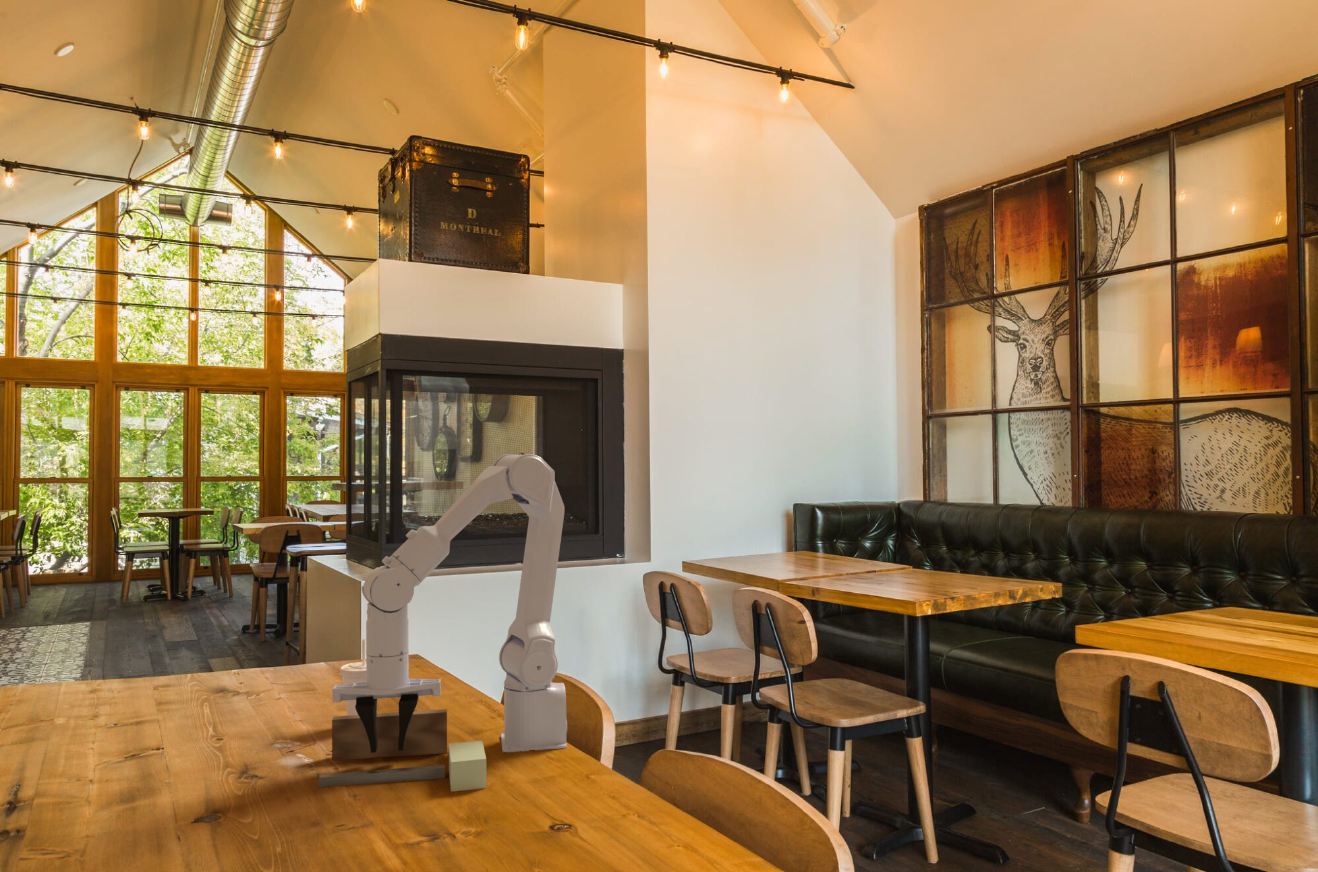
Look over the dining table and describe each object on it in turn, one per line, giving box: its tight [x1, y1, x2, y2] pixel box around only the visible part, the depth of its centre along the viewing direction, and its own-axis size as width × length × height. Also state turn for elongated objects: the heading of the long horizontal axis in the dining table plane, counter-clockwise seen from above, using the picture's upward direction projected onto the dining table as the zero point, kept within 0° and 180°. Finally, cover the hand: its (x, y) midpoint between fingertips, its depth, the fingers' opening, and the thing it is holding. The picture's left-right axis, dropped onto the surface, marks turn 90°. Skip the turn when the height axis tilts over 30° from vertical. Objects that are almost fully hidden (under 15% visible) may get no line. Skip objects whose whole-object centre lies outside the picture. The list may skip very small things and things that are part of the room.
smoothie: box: [339, 638, 366, 716], centre depth 143 cm, size 6×6×14 cm
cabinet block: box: [448, 740, 487, 792], centre depth 118 cm, size 4×8×4 cm, turn 15°
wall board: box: [331, 708, 448, 761], centre depth 129 cm, size 16×2×6 cm, turn 102°
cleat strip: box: [318, 764, 446, 788], centre depth 118 cm, size 16×1×2 cm, turn 102°
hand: (387, 749), depth 125 cm, fingers open, 3 cm apart
